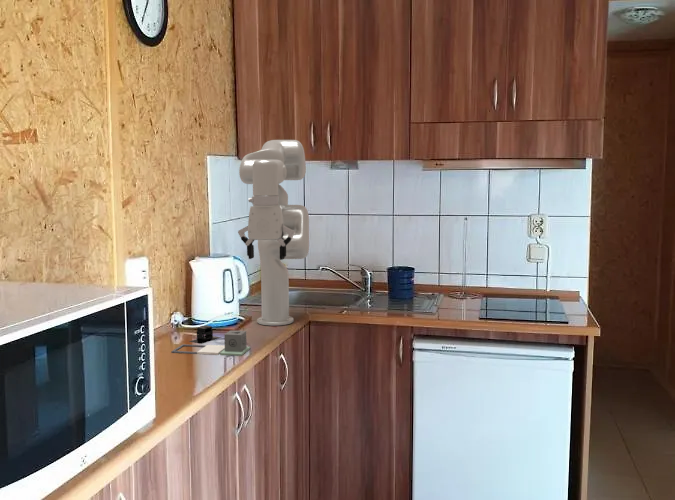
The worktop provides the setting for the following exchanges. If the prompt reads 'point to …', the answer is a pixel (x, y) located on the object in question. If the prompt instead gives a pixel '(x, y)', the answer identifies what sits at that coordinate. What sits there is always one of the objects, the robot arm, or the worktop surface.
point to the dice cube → (235, 341)
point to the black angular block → (208, 335)
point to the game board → (211, 350)
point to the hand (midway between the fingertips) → (266, 258)
